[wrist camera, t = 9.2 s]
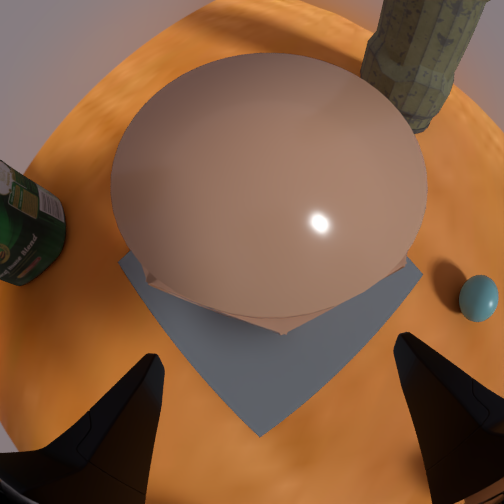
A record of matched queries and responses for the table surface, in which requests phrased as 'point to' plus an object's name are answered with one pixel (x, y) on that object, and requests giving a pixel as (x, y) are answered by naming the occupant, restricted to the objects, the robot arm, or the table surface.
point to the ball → (478, 298)
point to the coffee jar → (27, 227)
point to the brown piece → (268, 188)
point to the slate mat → (271, 345)
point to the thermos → (419, 53)
